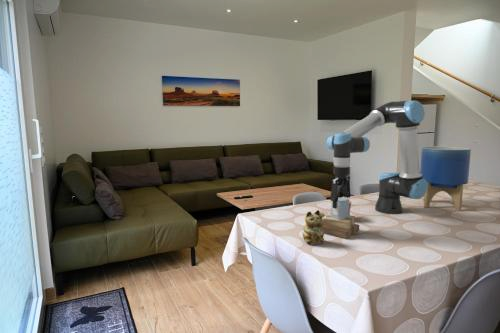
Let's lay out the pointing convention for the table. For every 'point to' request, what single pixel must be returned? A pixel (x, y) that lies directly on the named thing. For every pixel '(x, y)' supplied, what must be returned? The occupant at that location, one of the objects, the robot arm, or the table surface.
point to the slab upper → (339, 222)
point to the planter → (445, 172)
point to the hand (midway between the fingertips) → (340, 212)
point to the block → (341, 209)
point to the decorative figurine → (313, 227)
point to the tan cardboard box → (341, 231)
